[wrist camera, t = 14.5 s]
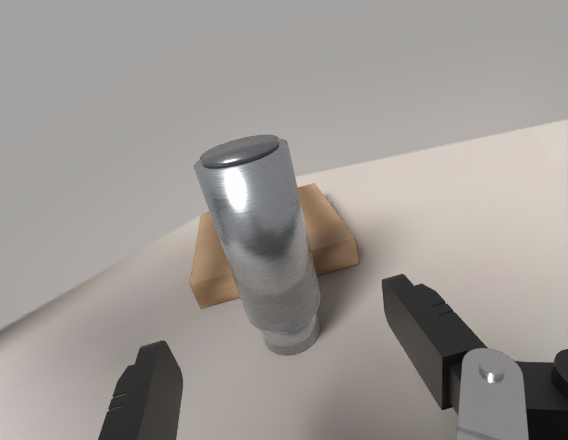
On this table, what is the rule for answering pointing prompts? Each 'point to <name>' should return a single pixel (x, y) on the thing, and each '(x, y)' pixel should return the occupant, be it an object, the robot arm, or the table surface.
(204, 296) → the housing
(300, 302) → the brushed metal cylinder
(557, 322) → the table surface
